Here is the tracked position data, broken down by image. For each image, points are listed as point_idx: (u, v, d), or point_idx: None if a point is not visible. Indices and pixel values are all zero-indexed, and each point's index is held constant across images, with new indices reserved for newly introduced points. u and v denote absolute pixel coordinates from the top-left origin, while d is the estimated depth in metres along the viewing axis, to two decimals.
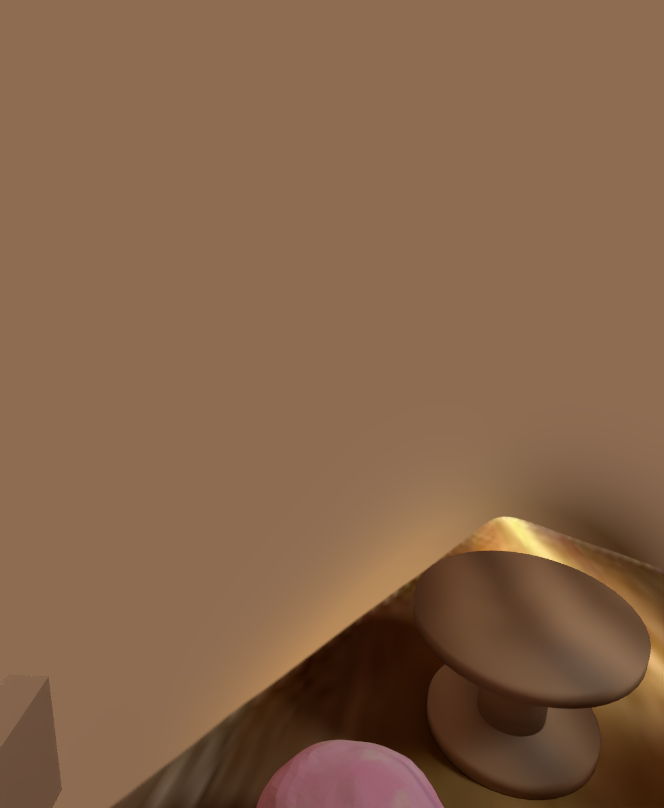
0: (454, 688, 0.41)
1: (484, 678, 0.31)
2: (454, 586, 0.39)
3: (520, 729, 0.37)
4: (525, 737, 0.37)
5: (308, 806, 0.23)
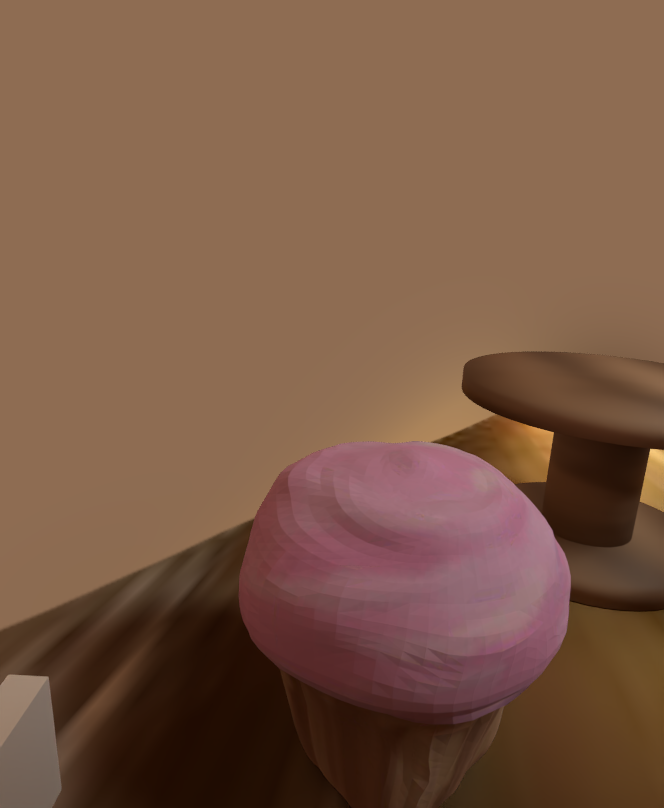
0: None
1: (572, 420, 0.23)
2: (513, 366, 0.30)
3: (602, 536, 0.28)
4: (609, 547, 0.28)
5: (339, 474, 0.15)
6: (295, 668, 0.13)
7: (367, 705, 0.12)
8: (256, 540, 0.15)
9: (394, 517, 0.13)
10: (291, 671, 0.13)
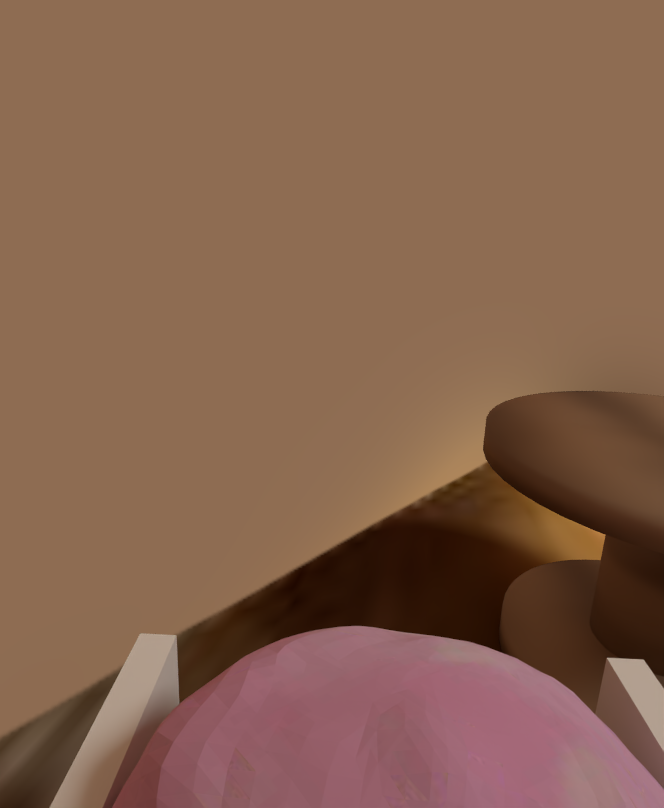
0: (545, 606, 0.24)
1: None
2: (554, 420, 0.22)
3: None
4: None
5: (265, 795, 0.07)
6: None
7: None
8: None
9: None
10: None
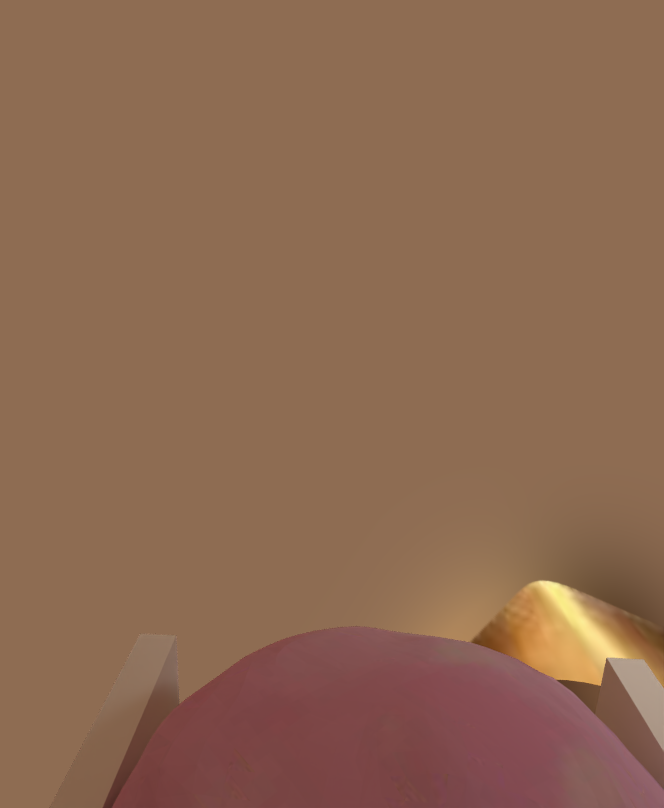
0: None
1: None
2: None
3: None
4: None
5: (265, 796, 0.06)
6: None
7: None
8: None
9: None
10: None
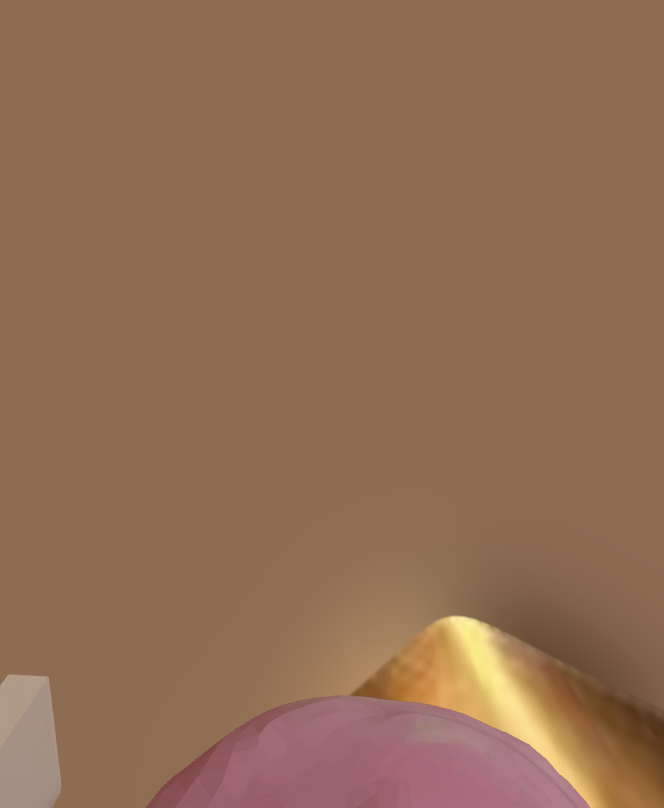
0: None
1: None
2: None
3: None
4: None
5: None
6: None
7: None
8: None
9: None
10: None
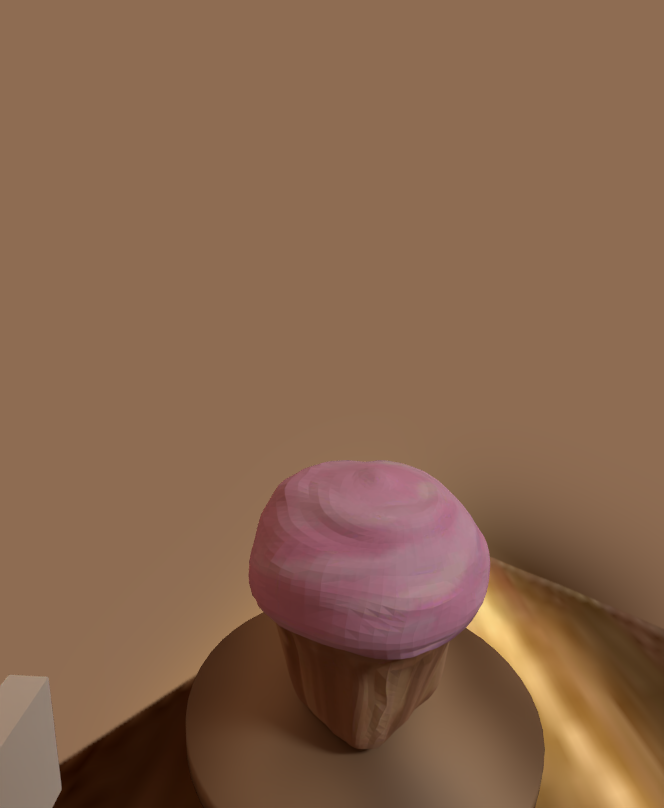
0: None
1: None
2: (267, 656, 0.26)
3: None
4: None
5: (322, 487, 0.21)
6: (292, 623, 0.19)
7: (341, 646, 0.18)
8: (262, 535, 0.21)
9: (360, 517, 0.19)
10: (289, 626, 0.19)
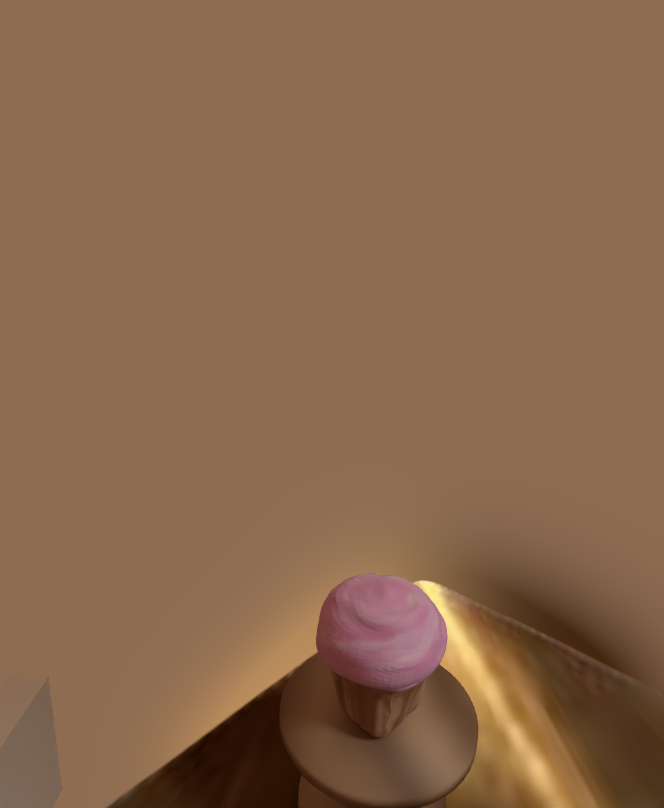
0: None
1: (319, 782, 0.36)
2: (321, 683, 0.44)
3: None
4: None
5: (356, 597, 0.39)
6: (342, 672, 0.37)
7: (368, 685, 0.36)
8: (324, 623, 0.39)
9: (377, 619, 0.37)
10: (341, 674, 0.37)
